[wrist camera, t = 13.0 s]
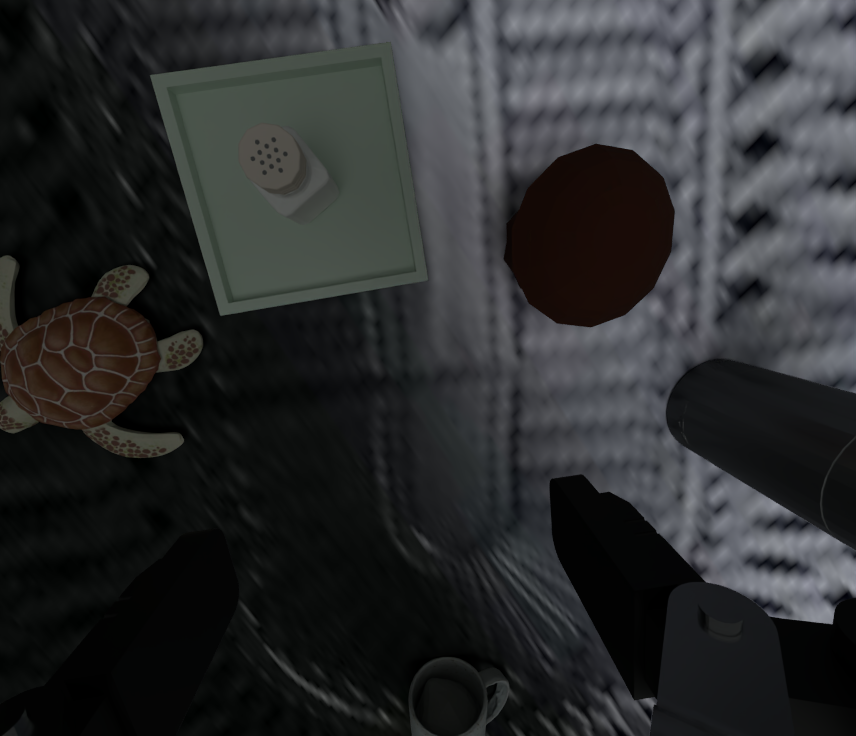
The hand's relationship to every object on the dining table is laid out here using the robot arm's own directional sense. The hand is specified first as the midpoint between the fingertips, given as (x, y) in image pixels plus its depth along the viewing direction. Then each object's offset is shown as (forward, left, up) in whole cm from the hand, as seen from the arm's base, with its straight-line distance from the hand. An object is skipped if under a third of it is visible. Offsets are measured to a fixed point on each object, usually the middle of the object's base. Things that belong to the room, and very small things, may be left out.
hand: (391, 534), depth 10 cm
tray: (+4, -13, -25) cm, 29 cm away
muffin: (-15, -6, -26) cm, 30 cm away
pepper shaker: (+4, -13, -25) cm, 28 cm away
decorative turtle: (+23, -3, -26) cm, 35 cm away
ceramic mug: (0, +38, -26) cm, 46 cm away
